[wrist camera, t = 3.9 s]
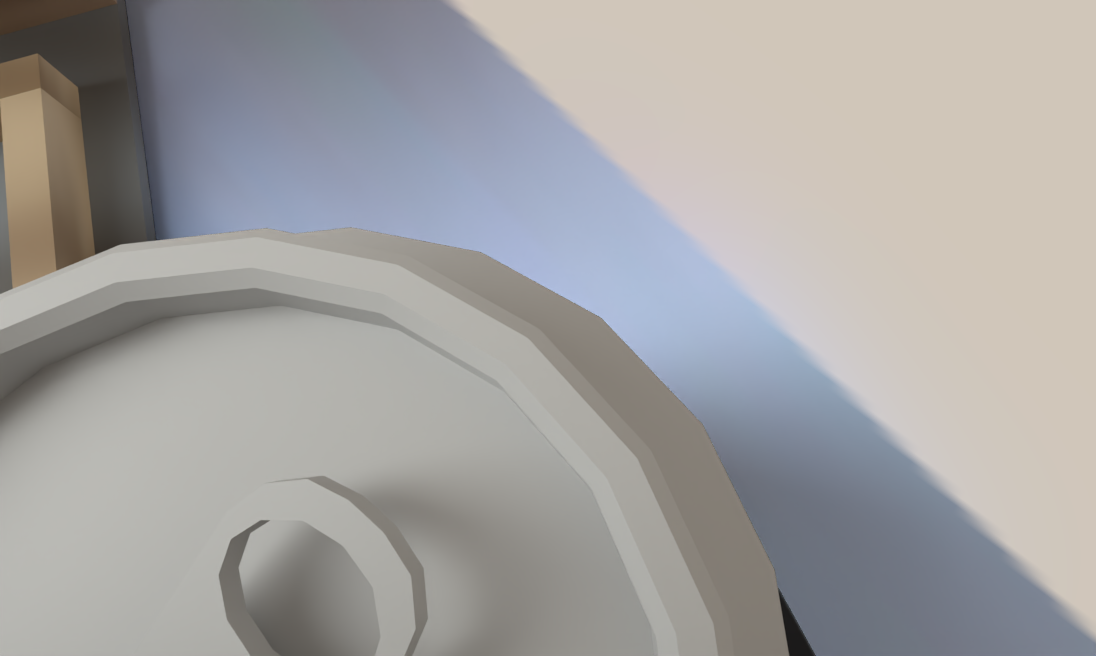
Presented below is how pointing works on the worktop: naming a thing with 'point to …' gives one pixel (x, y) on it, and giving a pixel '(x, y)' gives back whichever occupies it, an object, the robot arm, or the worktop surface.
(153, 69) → the worktop surface
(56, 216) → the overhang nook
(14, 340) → the can
